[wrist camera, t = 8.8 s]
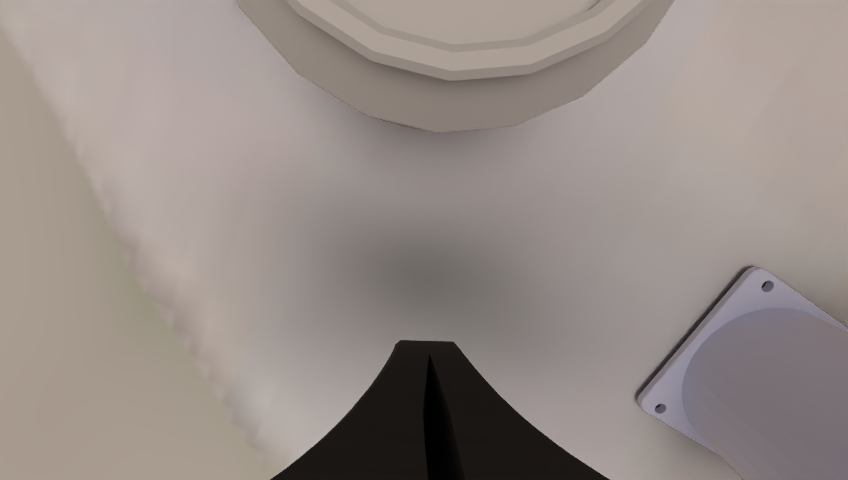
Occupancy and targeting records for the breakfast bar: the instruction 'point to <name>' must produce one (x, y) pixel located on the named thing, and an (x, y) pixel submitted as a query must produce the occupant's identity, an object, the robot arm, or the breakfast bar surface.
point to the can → (456, 53)
